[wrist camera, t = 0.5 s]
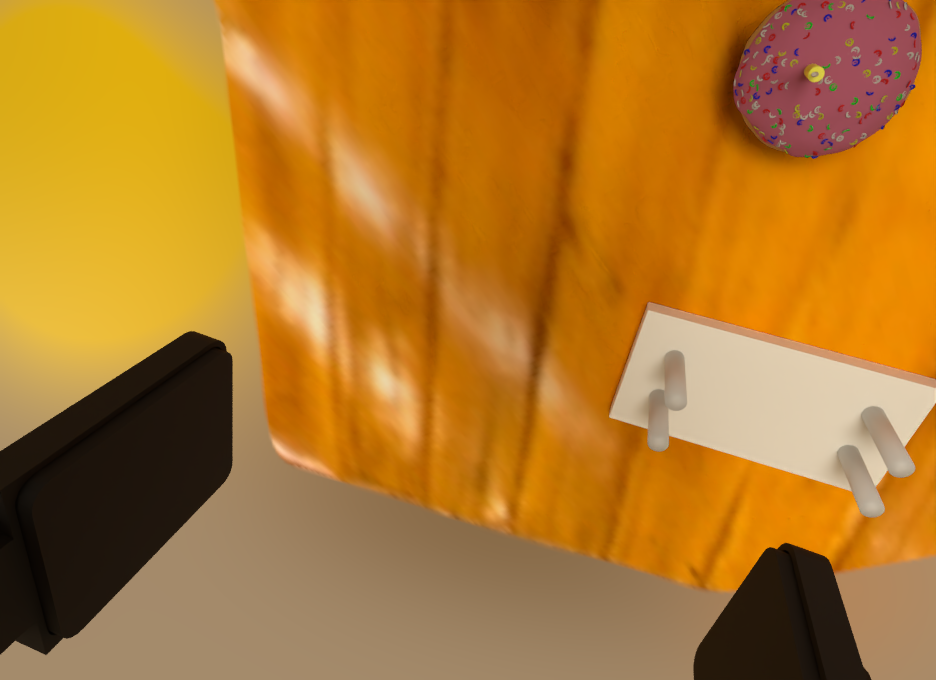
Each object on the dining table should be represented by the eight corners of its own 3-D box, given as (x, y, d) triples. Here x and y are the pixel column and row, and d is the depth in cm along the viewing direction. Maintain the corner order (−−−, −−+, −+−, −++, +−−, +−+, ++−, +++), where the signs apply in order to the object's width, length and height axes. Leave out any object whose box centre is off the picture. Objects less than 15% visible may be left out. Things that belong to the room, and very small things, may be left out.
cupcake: (706, 123, 38) (721, 161, 28) (763, -31, 34) (807, -53, 23) (845, 157, 37) (915, 209, 26) (924, 1, 32) (1044, -8, 22)
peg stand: (610, 407, 49) (602, 463, 43) (648, 301, 44) (645, 348, 38) (863, 483, 46) (895, 556, 40) (935, 379, 41) (985, 444, 35)
